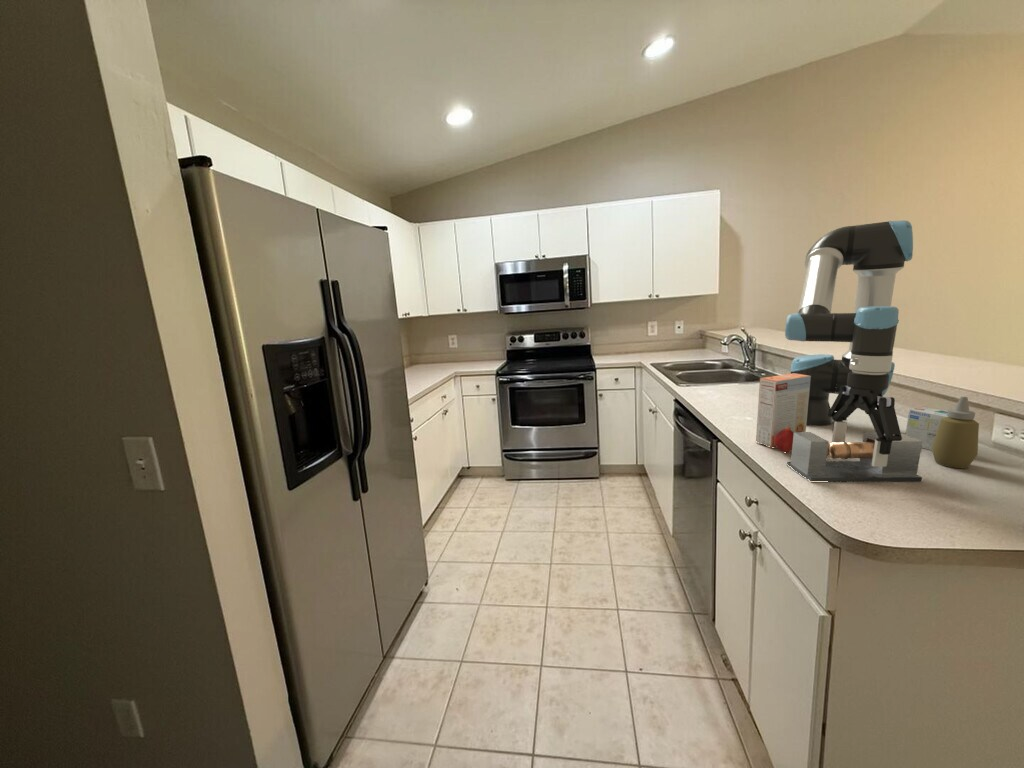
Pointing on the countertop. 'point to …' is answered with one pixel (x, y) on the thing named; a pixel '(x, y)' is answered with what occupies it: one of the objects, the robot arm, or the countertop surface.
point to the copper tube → (850, 450)
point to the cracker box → (782, 405)
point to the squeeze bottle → (957, 437)
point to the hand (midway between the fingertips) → (857, 455)
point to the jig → (813, 464)
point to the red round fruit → (784, 440)
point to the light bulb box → (924, 424)
